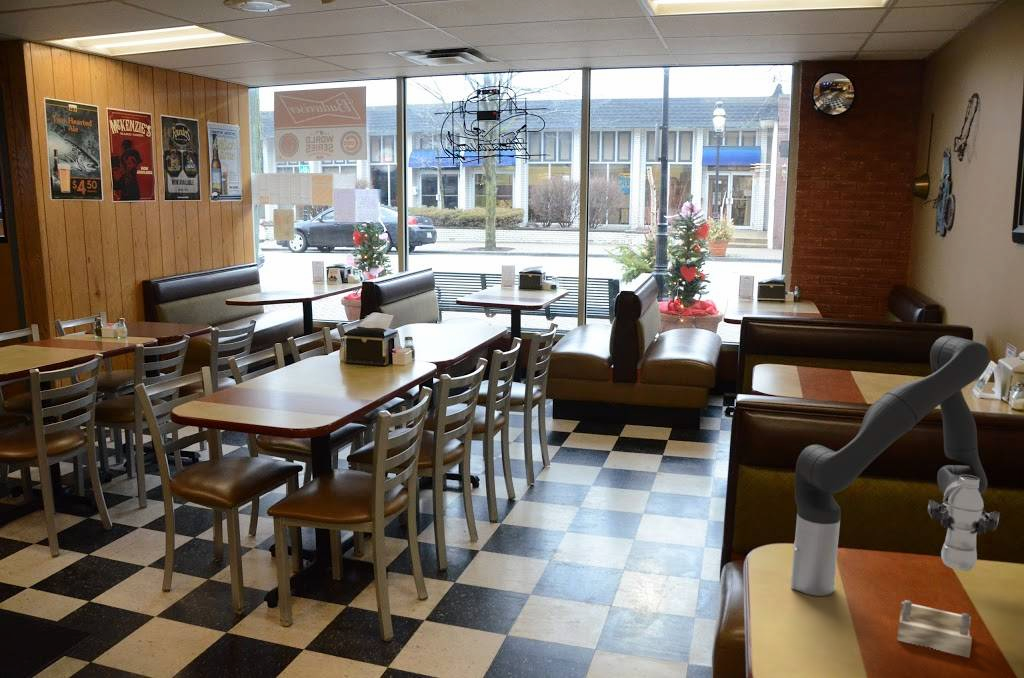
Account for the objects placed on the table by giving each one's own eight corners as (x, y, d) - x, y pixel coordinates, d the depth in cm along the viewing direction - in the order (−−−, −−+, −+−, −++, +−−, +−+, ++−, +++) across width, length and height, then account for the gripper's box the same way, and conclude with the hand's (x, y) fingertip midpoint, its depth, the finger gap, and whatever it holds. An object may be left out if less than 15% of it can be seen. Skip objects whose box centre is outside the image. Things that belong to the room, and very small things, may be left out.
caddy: (897, 640, 168) (900, 610, 167) (899, 618, 177) (903, 590, 176) (969, 657, 162) (973, 627, 161) (968, 634, 171) (972, 605, 170)
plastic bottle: (979, 576, 171) (993, 484, 167) (944, 572, 172) (957, 481, 168) (969, 562, 177) (981, 474, 173) (935, 559, 178) (947, 470, 175)
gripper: (929, 479, 188) (927, 502, 173) (1001, 491, 181) (1006, 517, 166) (925, 510, 189) (922, 536, 174) (997, 524, 182) (1001, 552, 168)
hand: (963, 527), depth 170 cm, fingers closed on plastic bottle, 5 cm apart
